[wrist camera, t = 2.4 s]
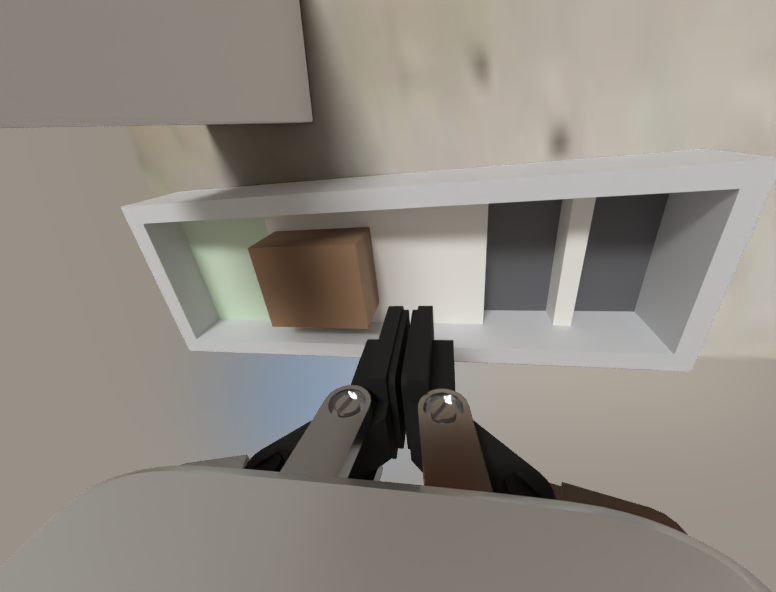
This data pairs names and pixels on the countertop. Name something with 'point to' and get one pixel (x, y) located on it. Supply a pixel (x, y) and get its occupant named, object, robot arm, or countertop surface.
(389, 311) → the robot arm
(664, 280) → the box
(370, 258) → the block
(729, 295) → the countertop surface
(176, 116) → the milk carton
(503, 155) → the countertop surface
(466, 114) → the countertop surface
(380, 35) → the countertop surface
